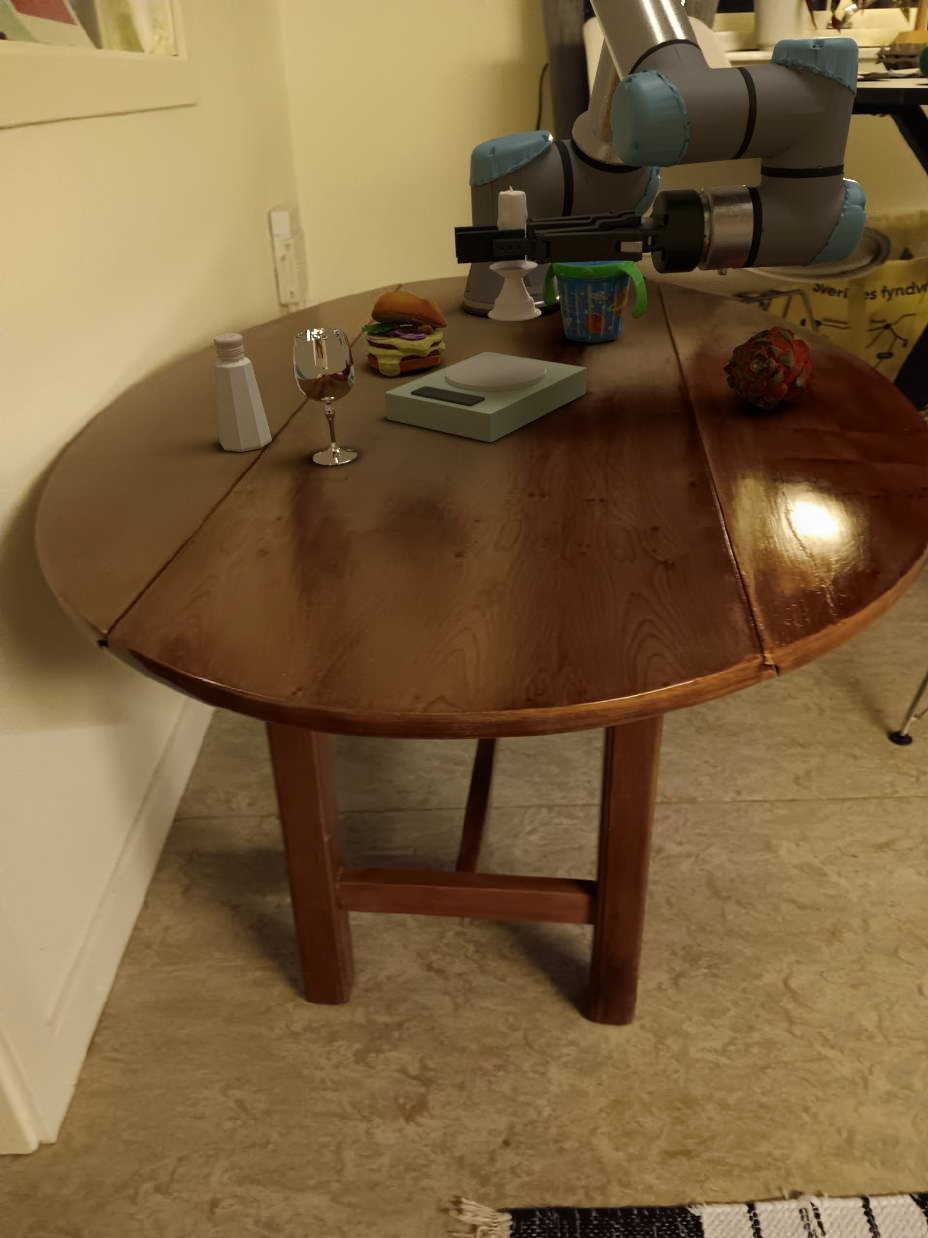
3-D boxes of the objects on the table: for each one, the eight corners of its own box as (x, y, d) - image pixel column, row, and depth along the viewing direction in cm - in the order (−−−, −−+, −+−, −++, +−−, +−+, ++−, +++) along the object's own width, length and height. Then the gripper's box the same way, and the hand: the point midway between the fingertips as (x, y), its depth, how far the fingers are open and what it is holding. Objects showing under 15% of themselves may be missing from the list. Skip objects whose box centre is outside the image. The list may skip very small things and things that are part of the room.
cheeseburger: (348, 374, 118) (347, 289, 115) (387, 371, 127) (387, 292, 124) (423, 378, 114) (424, 290, 111) (457, 375, 124) (459, 293, 121)
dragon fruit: (758, 437, 98) (753, 415, 108) (836, 388, 94) (823, 371, 105) (713, 367, 96) (713, 352, 107) (790, 315, 93) (782, 305, 103)
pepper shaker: (283, 440, 99) (266, 333, 93) (239, 456, 96) (220, 346, 90) (251, 430, 102) (234, 326, 97) (209, 445, 99) (188, 337, 93)
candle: (525, 323, 93) (523, 189, 87) (478, 319, 95) (473, 188, 89) (550, 311, 97) (550, 182, 91) (504, 306, 99) (501, 180, 93)
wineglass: (317, 472, 91) (300, 345, 85) (298, 454, 96) (280, 332, 89) (373, 459, 93) (360, 335, 87) (351, 442, 98) (337, 323, 92)
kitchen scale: (486, 375, 115) (485, 346, 113) (586, 393, 108) (586, 361, 106) (387, 419, 103) (384, 386, 101) (490, 442, 96) (489, 407, 94)
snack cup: (523, 335, 131) (522, 257, 125) (578, 320, 136) (579, 245, 131) (607, 356, 120) (610, 271, 115) (663, 339, 125) (667, 257, 120)
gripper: (716, 287, 88) (462, 303, 88) (674, 256, 102) (454, 269, 101) (723, 199, 84) (457, 215, 84) (679, 179, 98) (450, 192, 97)
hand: (456, 245), depth 92 cm, fingers closed on candle, 2 cm apart
